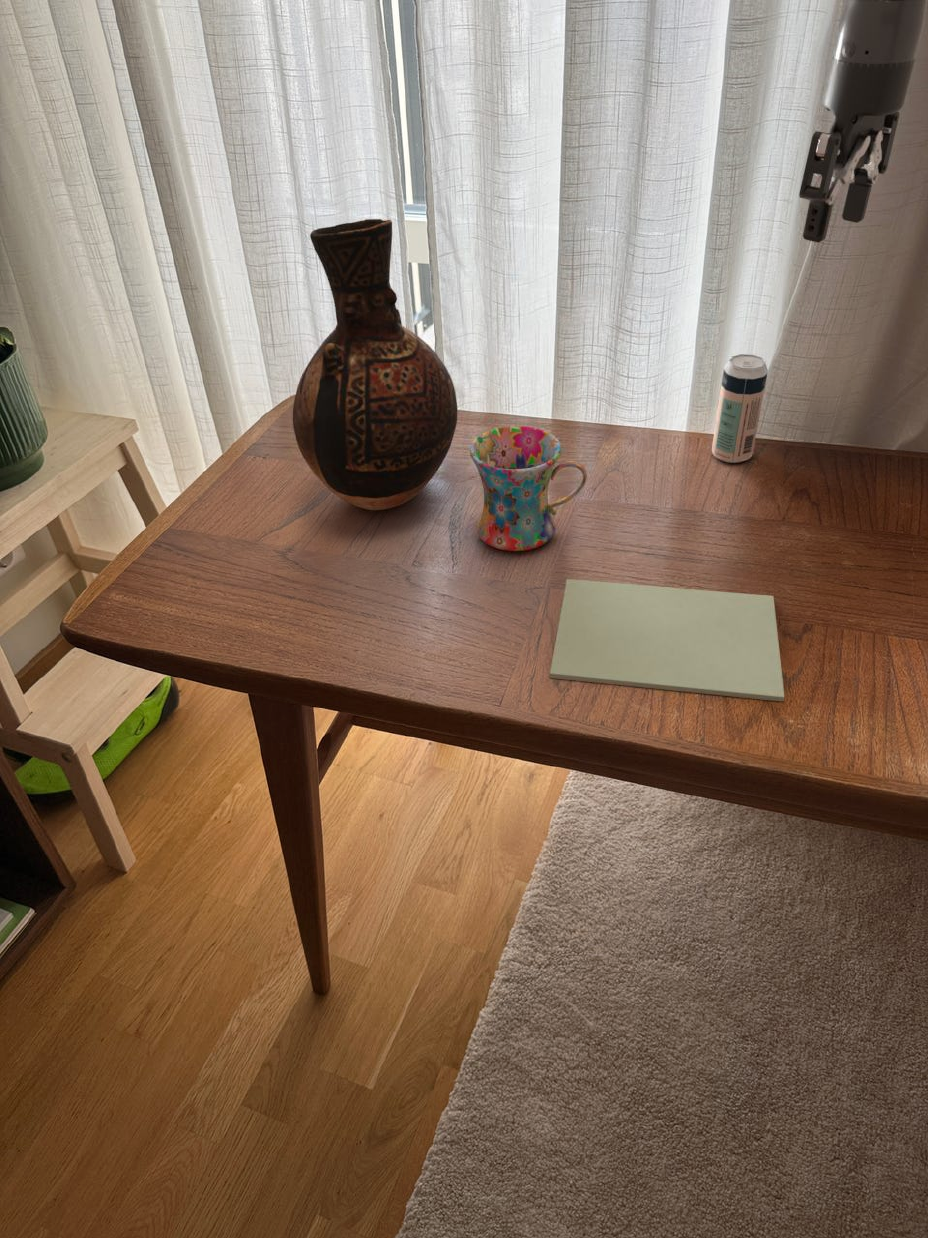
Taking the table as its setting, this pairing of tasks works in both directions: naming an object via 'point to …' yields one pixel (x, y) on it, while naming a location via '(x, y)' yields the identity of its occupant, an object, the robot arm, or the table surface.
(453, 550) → the table surface
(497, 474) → the mug
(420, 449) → the ceramic vessel
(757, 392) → the beer can
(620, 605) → the mat
